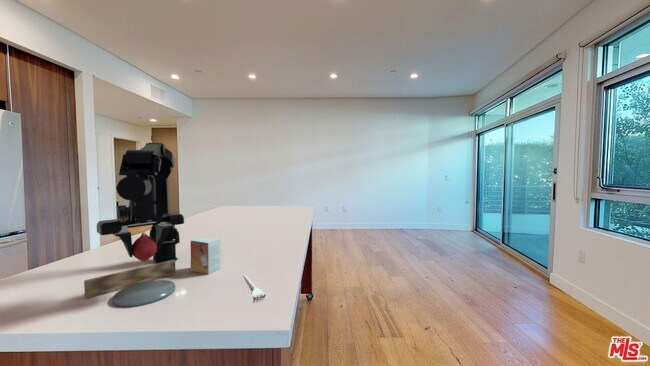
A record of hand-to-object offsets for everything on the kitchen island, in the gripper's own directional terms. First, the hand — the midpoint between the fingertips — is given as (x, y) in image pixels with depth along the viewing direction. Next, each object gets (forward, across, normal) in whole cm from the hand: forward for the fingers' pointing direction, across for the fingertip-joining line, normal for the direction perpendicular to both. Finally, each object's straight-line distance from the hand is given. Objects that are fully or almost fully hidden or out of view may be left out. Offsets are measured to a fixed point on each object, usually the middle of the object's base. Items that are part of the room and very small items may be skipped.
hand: (144, 254), depth 71 cm
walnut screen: (+11, 0, -10) cm, 15 cm away
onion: (+2, 0, 0) cm, 2 cm away
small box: (+11, -19, -5) cm, 23 cm away
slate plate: (+11, 0, 0) cm, 11 cm away
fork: (+12, -22, +18) cm, 30 cm away
